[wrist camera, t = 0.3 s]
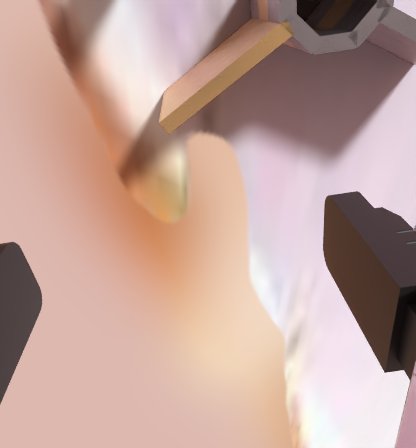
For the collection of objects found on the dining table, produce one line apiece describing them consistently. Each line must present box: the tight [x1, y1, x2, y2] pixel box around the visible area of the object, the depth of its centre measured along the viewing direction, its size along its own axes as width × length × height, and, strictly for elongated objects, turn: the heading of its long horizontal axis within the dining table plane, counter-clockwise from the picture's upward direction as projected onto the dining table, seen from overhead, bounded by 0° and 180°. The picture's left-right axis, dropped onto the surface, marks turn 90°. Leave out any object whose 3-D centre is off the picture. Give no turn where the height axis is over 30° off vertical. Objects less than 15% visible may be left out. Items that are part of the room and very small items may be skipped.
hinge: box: [159, 0, 416, 134], centre depth 27 cm, size 10×23×10 cm, turn 97°
